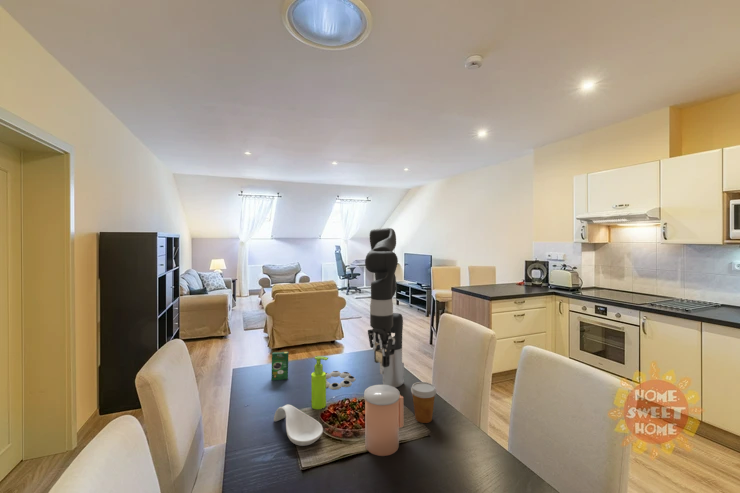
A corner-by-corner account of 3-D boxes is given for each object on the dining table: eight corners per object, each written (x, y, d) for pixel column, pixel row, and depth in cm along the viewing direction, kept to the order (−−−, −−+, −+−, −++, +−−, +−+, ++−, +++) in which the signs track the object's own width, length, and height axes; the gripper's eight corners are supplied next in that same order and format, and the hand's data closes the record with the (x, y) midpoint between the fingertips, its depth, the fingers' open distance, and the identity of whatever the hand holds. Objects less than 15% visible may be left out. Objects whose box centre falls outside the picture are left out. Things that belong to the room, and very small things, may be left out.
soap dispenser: (325, 410, 124) (325, 360, 124) (309, 408, 125) (308, 359, 125) (330, 403, 130) (330, 355, 130) (314, 401, 131) (314, 353, 131)
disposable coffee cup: (437, 414, 121) (437, 383, 121) (434, 427, 112) (434, 394, 112) (413, 409, 124) (413, 379, 124) (408, 422, 115) (408, 390, 115)
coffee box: (288, 377, 155) (288, 350, 155) (288, 379, 152) (288, 352, 152) (271, 378, 153) (271, 352, 153) (271, 381, 151) (271, 354, 151)
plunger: (383, 370, 105) (383, 348, 105) (390, 374, 102) (390, 351, 102) (373, 372, 103) (373, 350, 103) (380, 377, 100) (380, 354, 100)
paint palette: (306, 382, 150) (306, 378, 150) (336, 369, 165) (336, 365, 165) (334, 395, 138) (334, 390, 138) (363, 380, 153) (363, 376, 152)
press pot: (391, 427, 112) (391, 380, 112) (412, 445, 102) (412, 393, 102) (357, 441, 105) (357, 390, 104) (377, 461, 95) (377, 405, 95)
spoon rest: (329, 440, 106) (329, 419, 106) (299, 457, 97) (299, 434, 97) (292, 413, 122) (291, 395, 122) (263, 426, 114) (263, 406, 114)
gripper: (404, 314, 99) (404, 369, 99) (378, 307, 111) (378, 355, 111) (384, 318, 95) (385, 374, 95) (360, 309, 106) (360, 360, 107)
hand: (381, 364), depth 103 cm, fingers closed on plunger, 4 cm apart
